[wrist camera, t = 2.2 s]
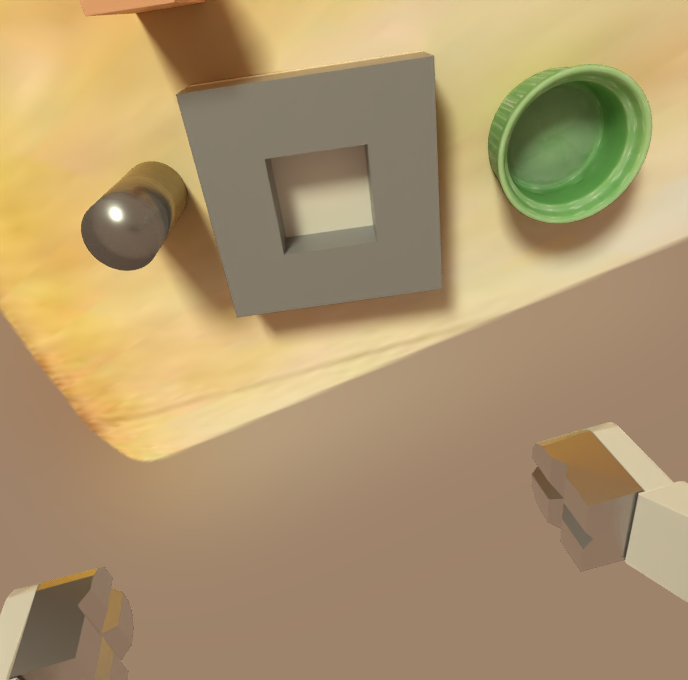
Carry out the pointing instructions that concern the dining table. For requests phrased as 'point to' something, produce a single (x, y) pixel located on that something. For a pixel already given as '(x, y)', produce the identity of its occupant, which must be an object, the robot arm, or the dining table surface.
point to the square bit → (130, 6)
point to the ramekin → (570, 141)
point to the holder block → (321, 181)
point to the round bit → (134, 216)
